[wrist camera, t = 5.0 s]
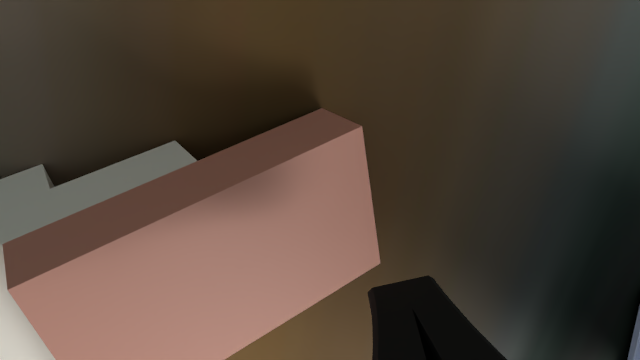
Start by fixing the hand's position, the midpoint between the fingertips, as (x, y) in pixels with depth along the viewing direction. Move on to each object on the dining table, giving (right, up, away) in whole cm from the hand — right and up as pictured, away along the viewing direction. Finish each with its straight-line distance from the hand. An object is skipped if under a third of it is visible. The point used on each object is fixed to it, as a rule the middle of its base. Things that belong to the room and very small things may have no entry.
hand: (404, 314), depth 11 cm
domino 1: (-1, +3, +5) cm, 6 cm away
